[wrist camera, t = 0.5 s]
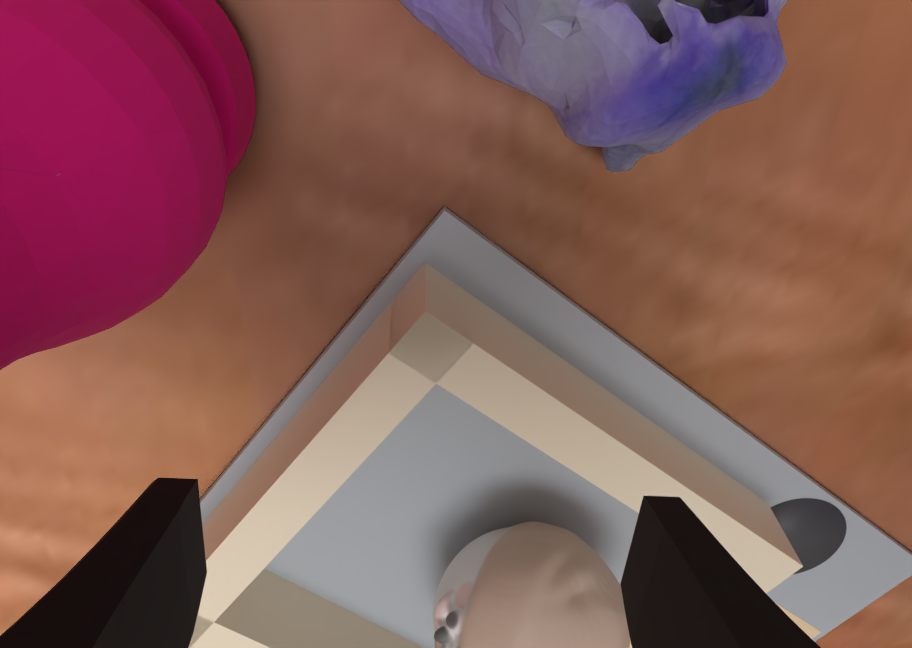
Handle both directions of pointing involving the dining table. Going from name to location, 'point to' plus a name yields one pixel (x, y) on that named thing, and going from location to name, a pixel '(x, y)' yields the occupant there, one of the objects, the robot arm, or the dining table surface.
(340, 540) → the cubby board
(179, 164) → the pepper mill
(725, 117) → the dining table surface
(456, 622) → the garlic bulb
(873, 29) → the dining table surface
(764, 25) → the flower
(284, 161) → the dining table surface
